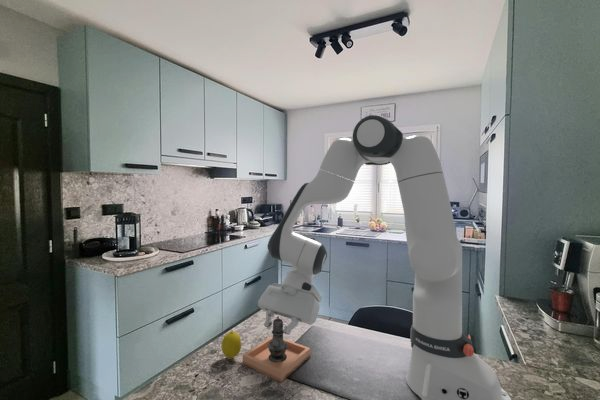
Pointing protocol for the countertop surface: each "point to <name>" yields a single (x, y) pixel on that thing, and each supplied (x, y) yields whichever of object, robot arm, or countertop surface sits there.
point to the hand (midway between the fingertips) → (276, 330)
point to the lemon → (231, 344)
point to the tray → (277, 371)
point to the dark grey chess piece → (277, 343)
